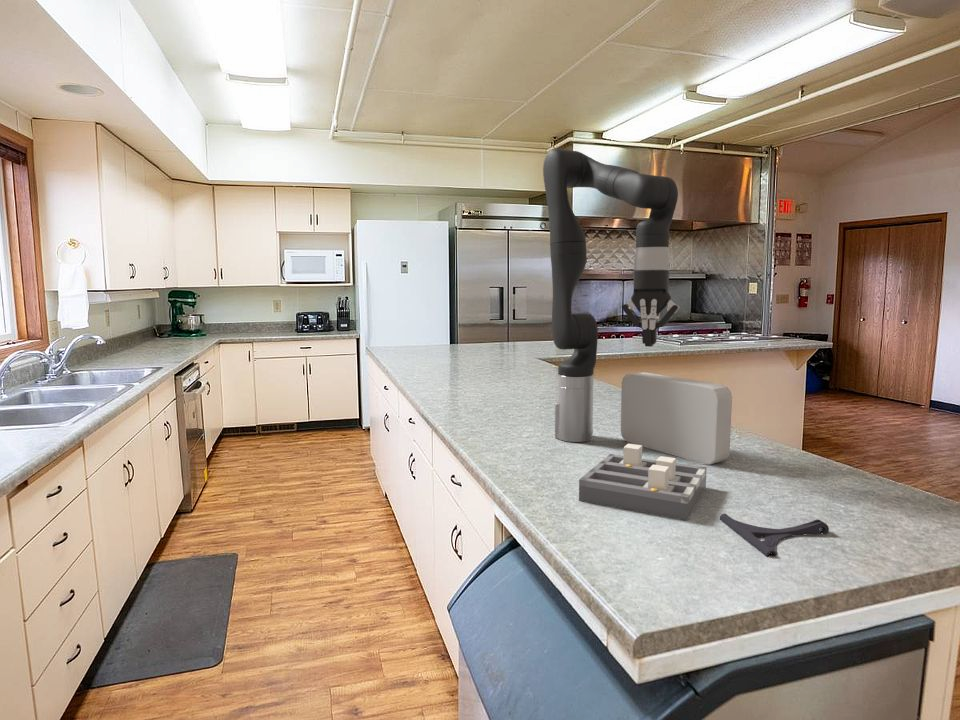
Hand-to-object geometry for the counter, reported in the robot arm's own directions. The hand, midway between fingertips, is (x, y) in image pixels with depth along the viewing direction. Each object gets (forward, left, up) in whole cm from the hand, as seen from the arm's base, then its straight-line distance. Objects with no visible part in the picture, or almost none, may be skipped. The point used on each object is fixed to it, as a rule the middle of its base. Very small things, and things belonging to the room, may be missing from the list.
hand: (649, 346), depth 134 cm
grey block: (+3, +12, -27) cm, 30 cm away
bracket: (+30, -29, -28) cm, 50 cm away
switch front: (+9, -27, -24) cm, 37 cm away
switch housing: (+5, -21, -27) cm, 35 cm away
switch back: (+1, -15, -24) cm, 28 cm away
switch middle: (+9, -21, -24) cm, 33 cm away
